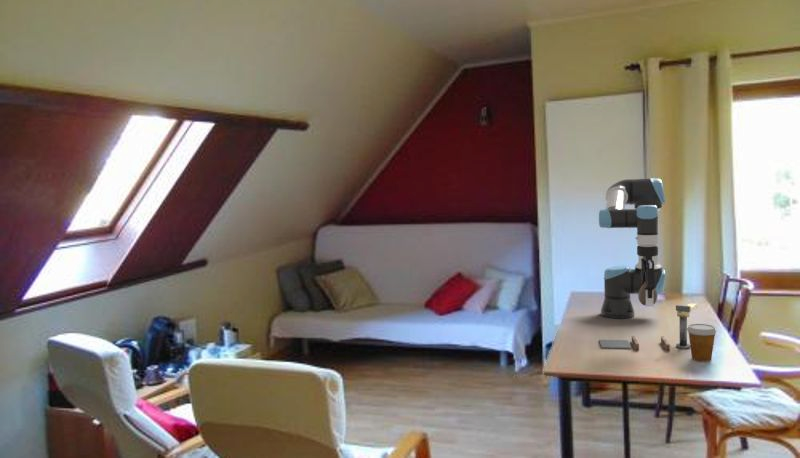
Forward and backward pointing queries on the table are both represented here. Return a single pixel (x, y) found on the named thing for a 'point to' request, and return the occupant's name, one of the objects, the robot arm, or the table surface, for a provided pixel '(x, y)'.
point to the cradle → (663, 341)
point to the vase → (643, 295)
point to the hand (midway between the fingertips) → (647, 303)
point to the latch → (685, 309)
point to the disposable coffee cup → (701, 341)
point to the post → (683, 334)
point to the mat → (614, 344)
